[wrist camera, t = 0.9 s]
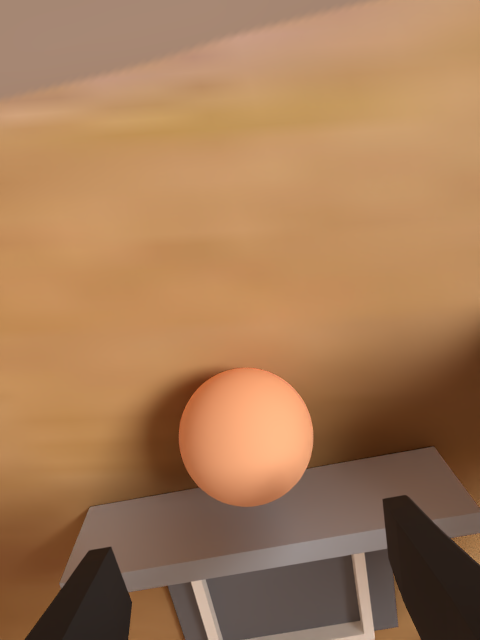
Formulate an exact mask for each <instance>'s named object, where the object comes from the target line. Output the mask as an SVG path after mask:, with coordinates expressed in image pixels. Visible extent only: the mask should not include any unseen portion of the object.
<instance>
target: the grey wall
mask: <svg viewBox="0 0 480 640" xmlns="http://www.w3.org/2000/svg"><path fill="white" fill-rule="evenodd" d="M402 495H407V496H408V497H410V498H411V499H412V500H413V501H414V502H415V503H416V505H417V506H418V507H419V508H420V509H421V510H422V511H423V512H424V513H425V514H426V515H427V516H428V517H429V518H430V519H431V520H432V521H433V522H434V523H435V524H436V525H437V526H438V527H439V528H440V529H441V530H442V531H443V532H444V533H445V534H446V535H447V536H448V537H449V538H454V537H460V536H466V535H472V534H477V533H480V508H479V507H478V505H477V504H476V503H475V501H474V500H473V499H472V497H471V496H470V495H469V493H468V492H467V490H466V489H465V488H464V486H463V485H462V484H461V482H460V481H459V480H458V478H457V477H456V476H455V474H454V473H453V471H452V470H451V469H450V467H449V466H448V465H447V463H446V462H445V461H444V459H443V458H442V457H441V455H440V454H439V452H438V451H437V450H436V448H435V447H428V448H422V449H417V450H411V451H405V452H400V453H394V454H388V455H382V456H377V457H371V458H365V459H360V460H354V461H348V462H343V463H337V464H331V465H326V466H320V467H314V468H308V469H306V470H305V472H304V474H303V475H302V477H301V479H300V480H299V481H298V483H297V484H296V485H295V486H294V487H293V488H292V489H291V490H290V491H288V492H287V493H286V494H285V495H283V496H282V497H280V498H278V499H276V500H274V501H272V502H270V503H267V504H264V505H259V506H253V507H241V506H234V505H229V504H226V503H223V502H220V501H218V500H216V499H214V498H213V497H211V496H209V495H208V494H207V493H205V492H204V491H203V490H202V489H201V488H195V489H189V490H183V491H178V492H172V493H166V494H161V495H155V496H149V497H143V498H138V499H132V500H126V501H121V502H115V503H109V504H104V505H98V506H92V507H90V508H89V510H88V513H87V515H86V518H85V520H84V523H83V525H82V528H81V530H80V533H79V535H78V538H77V540H76V543H75V545H74V548H73V550H72V553H71V555H70V558H69V560H68V563H67V565H66V568H65V570H64V573H63V575H62V578H61V580H60V583H59V584H60V587H61V589H62V587H63V586H64V584H65V583H66V582H67V580H68V579H69V577H70V576H71V575H72V573H73V572H74V570H75V569H76V567H77V566H78V565H79V563H80V562H81V560H82V559H83V558H84V556H85V555H86V554H87V552H88V551H89V550H94V549H99V548H105V547H112V550H113V553H114V555H115V558H116V561H117V563H118V566H119V569H120V572H121V574H122V577H123V580H124V582H125V585H126V588H127V590H128V592H133V591H139V590H145V589H151V588H157V587H163V586H169V585H175V584H181V583H187V582H192V581H198V580H204V579H210V578H216V577H222V576H228V575H234V574H240V573H246V572H252V571H258V570H264V569H270V568H276V567H282V566H287V565H293V564H299V563H305V562H311V561H317V560H323V559H329V558H335V557H341V556H347V555H353V554H359V553H365V552H371V551H377V550H382V549H387V540H386V530H385V521H384V511H383V501H382V499H385V498H390V497H396V496H402Z"/></svg>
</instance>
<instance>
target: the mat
mask: <svg viewBox="0 0 480 640" xmlns="http://www.w3.org/2000/svg"><path fill="white" fill-rule="evenodd" d="M168 589H169V592H170V595H171V598H172V601H173V604H174V607H175V610H176V613H177V616H178V619H179V622H180V625H181V628H182V631H183V634H184V637H185V640H375V634H374V631H376V630H382V629H388V628H394V627H398V620H397V609H396V599H395V589H394V579H393V570H392V568H391V565H390V562H389V559H388V550H387V549H382V550H377V551H371V552H365V553H359V554H353V555H347V556H341V557H335V558H329V559H323V560H317V561H311V562H305V563H299V564H293V565H287V566H282V567H276V568H270V569H264V570H258V571H252V572H246V573H240V574H234V575H228V576H222V577H216V578H210V579H204V580H198V581H192V582H187V583H181V584H175V585H169V586H168Z"/></svg>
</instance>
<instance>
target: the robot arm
mask: <svg viewBox="0 0 480 640" xmlns="http://www.w3.org/2000/svg"><path fill="white" fill-rule="evenodd" d="M382 501H383V511H384V521H385V530H386V540H387V550H388V559H389V562H390V565H391V568H392V570H393V573H394V576H395V579H396V582H397V585H398V587H399V590H400V593H401V596H402V598H403V601H404V603H405V605H406V608H407V610H408V612H409V614H410V616H411V618H412V621H413V623H414V625H415V627H416V629H417V631H418V633H419V636H420V638H421V640H480V565H479V564H478V563H477V562H476V561H475V560H473V559H472V558H471V557H470V556H469V555H468V554H467V553H466V552H465V551H464V550H462V549H461V548H460V547H459V546H458V545H457V544H456V543H455V542H454V541H453V540H452V539H450V538H449V537H448V536H447V535H446V534H445V533H444V532H443V531H442V530H441V529H440V528H439V527H438V526H437V525H436V524H435V523H434V522H433V521H432V520H431V519H430V518H429V517H428V516H427V515H426V514H425V513H424V512H423V511H422V510H421V509H420V508H419V507H418V506H417V505H416V503H415V502H414V501H413V500H412V499H411V498H410V497H408V496H407V495H402V496H396V497H390V498H385V499H382ZM131 607H132V601H131V599H130V596H129V593H128V590H127V588H126V585H125V582H124V580H123V577H122V574H121V572H120V569H119V566H118V563H117V561H116V558H115V555H114V553H113V550H112V547H105V548H99V549H94V550H89V551H88V552H87V554H86V555H85V556H84V558H83V559H82V560H81V562H80V563H79V565H78V566H77V567H76V569H75V570H74V572H73V573H72V575H71V576H70V577H69V579H68V580H67V582H66V583H65V584H64V586H63V587H62V589H61V590H60V592H59V593H58V594H57V596H56V597H55V599H54V600H53V601H52V603H51V604H50V606H49V607H48V608H47V610H46V611H45V612H44V614H43V615H42V617H41V618H40V619H39V621H38V622H37V623H36V625H35V626H34V628H33V629H32V630H31V632H30V633H29V634H28V636H27V637H26V638H25V640H128V635H129V627H130V617H131Z"/></svg>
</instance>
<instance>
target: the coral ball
mask: <svg viewBox="0 0 480 640" xmlns="http://www.w3.org/2000/svg"><path fill="white" fill-rule="evenodd" d="M179 447H180V452H181V457H182V460H183V463H184V465H185V467H186V469H187V471H188V473H189V475H190V476H191V478H192V479H193V480H194V482H195V483H196V484H197V485H198V486H199V487H200V488H201V489H202V490H203V491H204V492H205V493H207V494H208V495H209V496H211V497H213V498H214V499H216V500H218V501H220V502H223V503H226V504H229V505H234V506H241V507H253V506H259V505H264V504H267V503H270V502H272V501H274V500H276V499H278V498H280V497H282V496H283V495H285V494H286V493H287V492H288V491H290V490H291V489H292V488H293V487H294V486H295V485H296V484H297V483H298V481H299V480H300V479H301V477H302V475H303V474H304V472H305V470H306V468H307V466H308V464H309V461H310V458H311V454H312V449H313V426H312V421H311V417H310V414H309V412H308V409H307V407H306V405H305V403H304V401H303V399H302V398H301V396H300V395H299V394H298V393H297V391H296V390H295V389H294V388H293V387H292V386H291V385H290V384H289V383H288V382H286V381H285V380H283V379H282V378H280V377H279V376H277V375H275V374H273V373H271V372H268V371H265V370H261V369H256V368H236V369H231V370H227V371H224V372H221V373H219V374H217V375H215V376H213V377H211V378H210V379H208V380H207V381H206V382H204V383H203V384H202V385H201V386H200V387H199V388H198V389H197V390H196V391H195V392H194V394H193V395H192V396H191V398H190V400H189V401H188V403H187V405H186V407H185V409H184V411H183V414H182V418H181V421H180V427H179Z"/></svg>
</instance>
